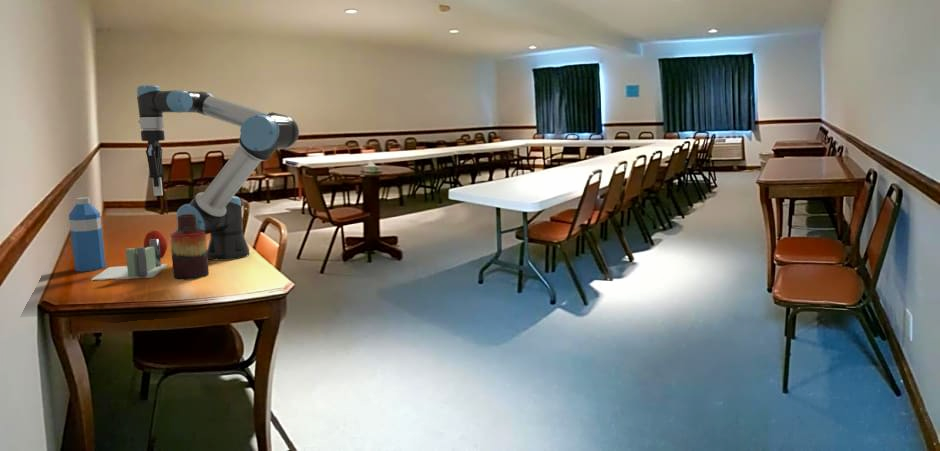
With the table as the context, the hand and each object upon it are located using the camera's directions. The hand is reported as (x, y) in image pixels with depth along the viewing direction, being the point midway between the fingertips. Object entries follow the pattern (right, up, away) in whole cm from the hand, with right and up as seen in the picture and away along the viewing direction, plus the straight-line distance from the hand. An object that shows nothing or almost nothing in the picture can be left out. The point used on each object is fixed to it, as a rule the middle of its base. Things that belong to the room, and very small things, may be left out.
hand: (158, 195), depth 237 cm
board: (-2, -27, -14) cm, 31 cm away
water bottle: (-21, -26, -6) cm, 34 cm away
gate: (+3, -26, -17) cm, 31 cm away
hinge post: (+3, -26, -7) cm, 27 cm away
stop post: (+5, -28, -21) cm, 35 cm away
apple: (-6, -23, +12) cm, 27 cm away
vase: (+20, -28, -20) cm, 40 cm away
